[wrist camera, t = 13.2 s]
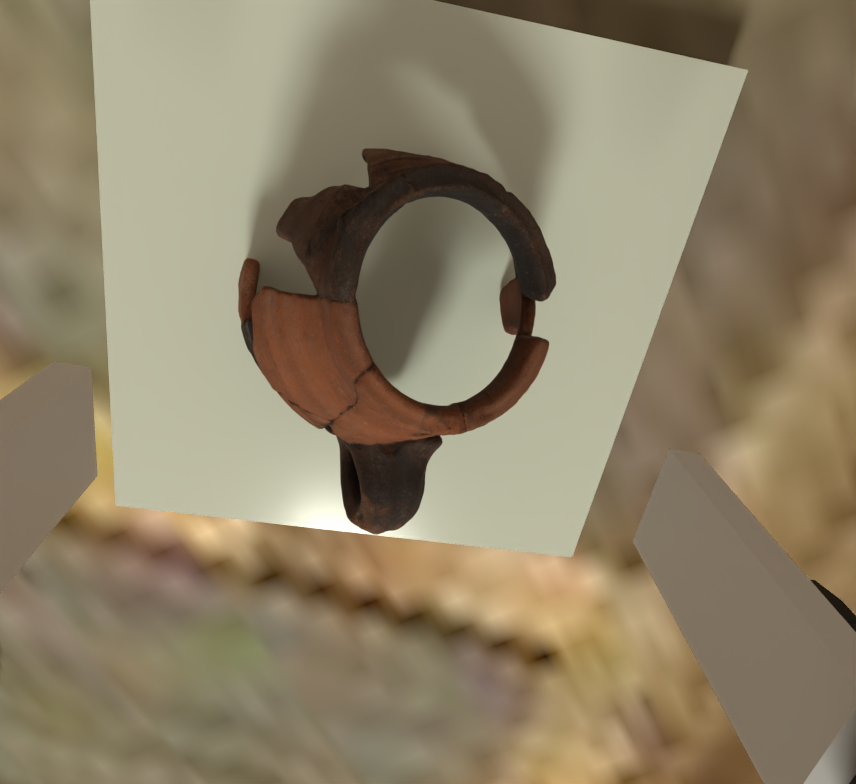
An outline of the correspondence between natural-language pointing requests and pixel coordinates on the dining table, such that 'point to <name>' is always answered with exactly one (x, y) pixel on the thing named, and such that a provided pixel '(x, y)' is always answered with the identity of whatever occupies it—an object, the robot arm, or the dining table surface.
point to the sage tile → (385, 243)
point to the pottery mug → (344, 343)
